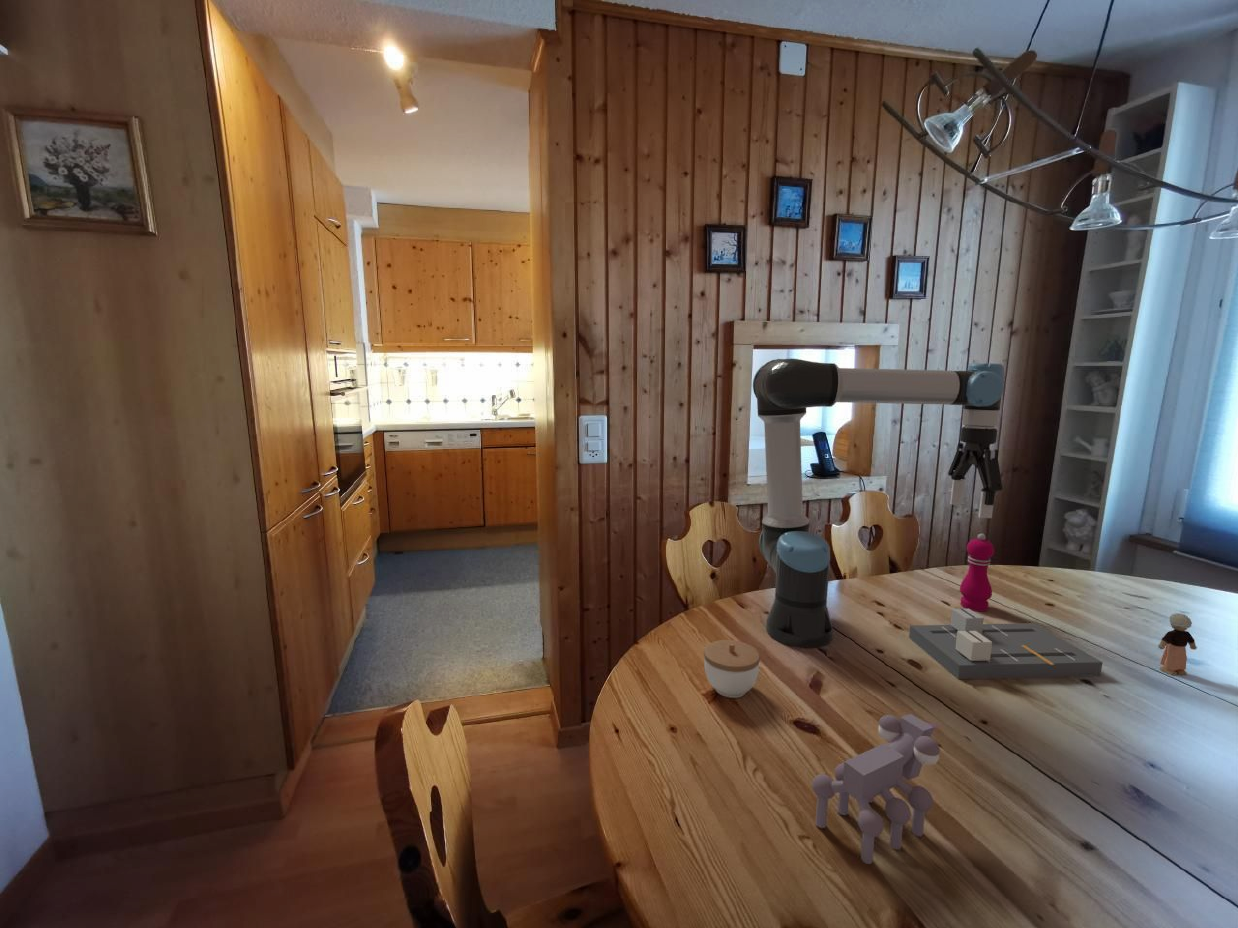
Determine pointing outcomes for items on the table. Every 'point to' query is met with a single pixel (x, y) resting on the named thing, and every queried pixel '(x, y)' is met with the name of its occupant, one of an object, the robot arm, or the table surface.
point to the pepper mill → (977, 575)
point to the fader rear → (966, 620)
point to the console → (1007, 652)
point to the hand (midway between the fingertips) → (969, 510)
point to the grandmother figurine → (1176, 645)
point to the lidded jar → (731, 667)
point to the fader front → (973, 645)
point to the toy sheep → (883, 781)
